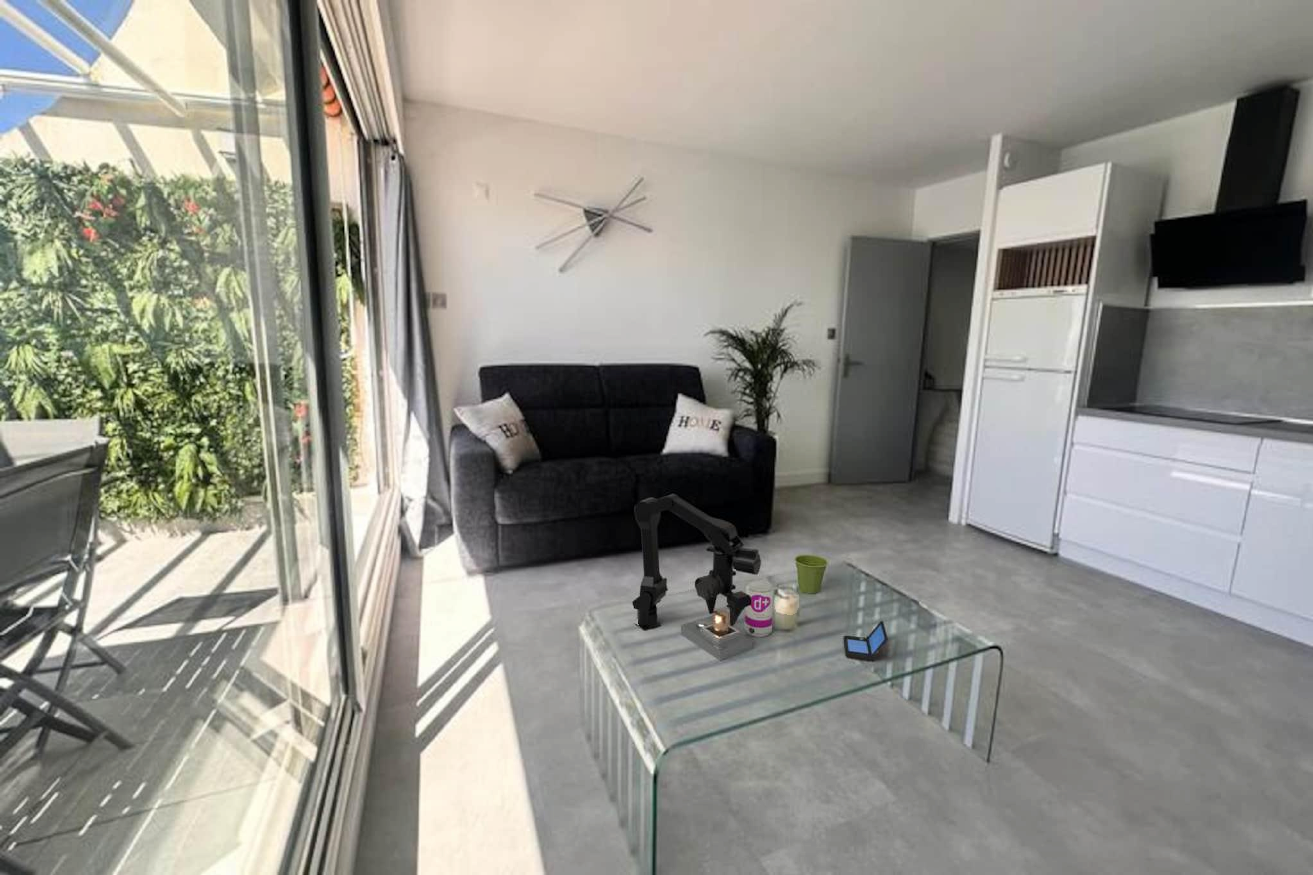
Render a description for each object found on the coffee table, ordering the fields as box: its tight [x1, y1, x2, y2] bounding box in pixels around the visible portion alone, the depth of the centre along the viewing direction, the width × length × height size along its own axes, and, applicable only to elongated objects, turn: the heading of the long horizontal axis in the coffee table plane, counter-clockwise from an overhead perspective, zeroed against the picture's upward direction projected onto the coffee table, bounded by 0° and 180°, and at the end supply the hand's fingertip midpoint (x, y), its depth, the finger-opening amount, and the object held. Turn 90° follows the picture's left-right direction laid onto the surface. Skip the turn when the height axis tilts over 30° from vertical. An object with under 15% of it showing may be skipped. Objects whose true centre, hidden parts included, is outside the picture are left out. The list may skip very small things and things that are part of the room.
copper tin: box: [712, 609, 730, 637], centre depth 167 cm, size 4×4×8 cm
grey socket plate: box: [680, 615, 754, 661], centre depth 169 cm, size 18×12×4 cm, turn 34°
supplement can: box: [743, 579, 775, 638], centre depth 175 cm, size 8×8×15 cm
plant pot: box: [793, 554, 829, 595], centre depth 207 cm, size 12×12×11 cm
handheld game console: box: [843, 620, 889, 663], centre depth 165 cm, size 12×11×7 cm
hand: (721, 619), depth 166 cm, fingers open, 9 cm apart
